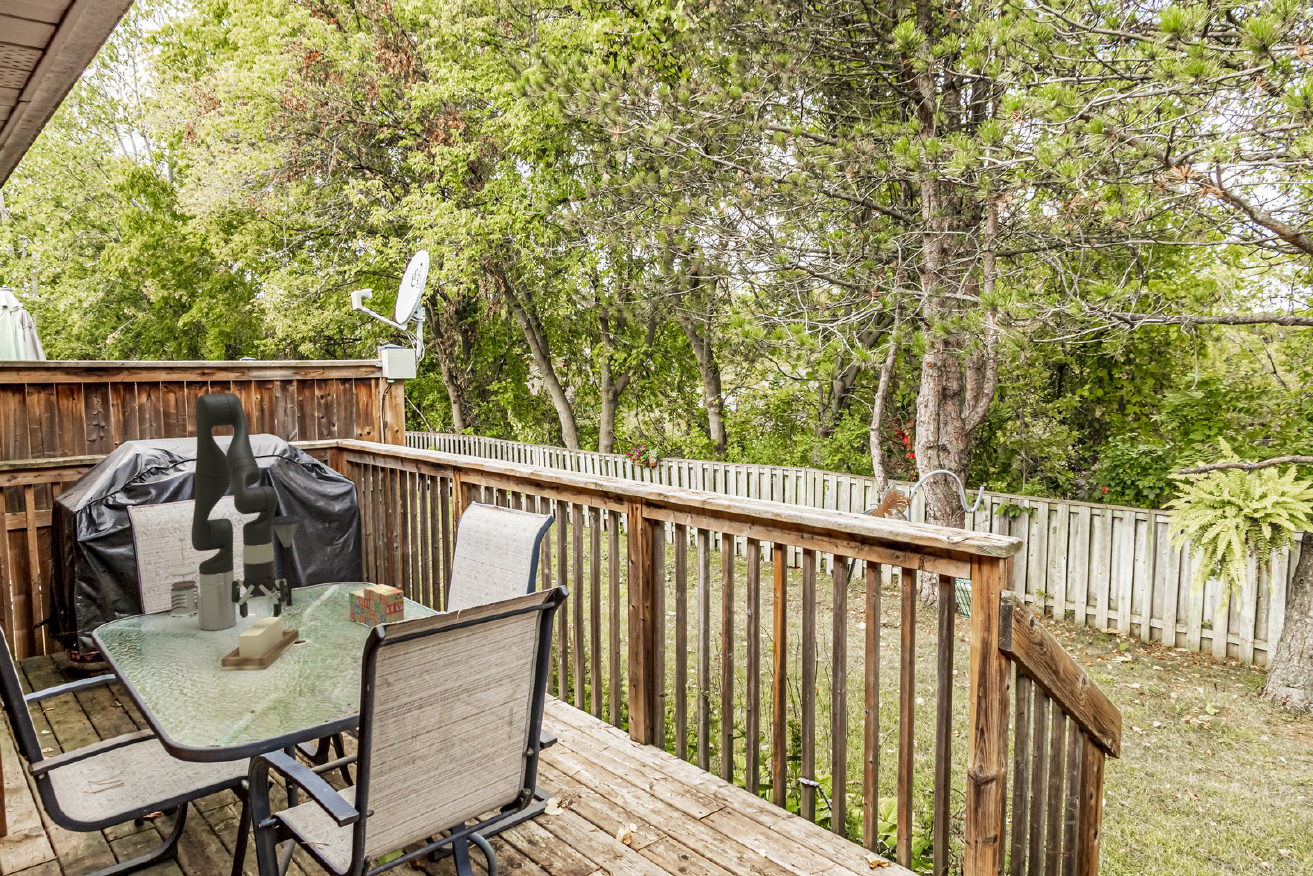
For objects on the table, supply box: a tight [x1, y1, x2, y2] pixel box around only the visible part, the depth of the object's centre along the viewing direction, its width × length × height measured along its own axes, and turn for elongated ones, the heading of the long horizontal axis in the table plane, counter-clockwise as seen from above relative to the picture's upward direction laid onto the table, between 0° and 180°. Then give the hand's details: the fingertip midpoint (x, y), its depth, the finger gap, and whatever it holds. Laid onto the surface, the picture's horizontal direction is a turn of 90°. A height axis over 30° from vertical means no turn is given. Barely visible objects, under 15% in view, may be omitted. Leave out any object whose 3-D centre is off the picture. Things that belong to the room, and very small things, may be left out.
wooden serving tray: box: [221, 629, 300, 671], centre depth 218 cm, size 11×23×3 cm, turn 4°
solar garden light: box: [272, 514, 306, 607], centre depth 264 cm, size 12×12×30 cm
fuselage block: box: [238, 616, 283, 657], centre depth 218 cm, size 5×16×7 cm, turn 5°
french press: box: [168, 536, 201, 614], centre depth 256 cm, size 10×12×25 cm
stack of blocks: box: [348, 583, 405, 629], centre depth 243 cm, size 21×6×12 cm, turn 50°
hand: (261, 616), depth 217 cm, fingers open, 8 cm apart
